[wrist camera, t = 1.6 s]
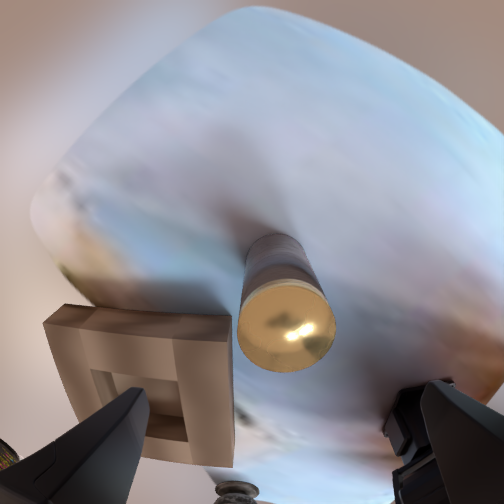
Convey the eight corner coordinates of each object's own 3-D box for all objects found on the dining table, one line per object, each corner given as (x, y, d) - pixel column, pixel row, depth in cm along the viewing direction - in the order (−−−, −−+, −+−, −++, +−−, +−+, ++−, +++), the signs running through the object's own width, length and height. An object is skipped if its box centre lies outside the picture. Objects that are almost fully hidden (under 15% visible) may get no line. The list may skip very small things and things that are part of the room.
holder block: (231, 315, 22) (227, 342, 19) (235, 440, 26) (232, 467, 23) (64, 303, 22) (42, 322, 19) (101, 421, 26) (90, 444, 23)
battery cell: (307, 234, 20) (341, 288, 12) (304, 291, 21) (329, 371, 13) (246, 233, 20) (237, 287, 12) (245, 290, 22) (237, 371, 13)
